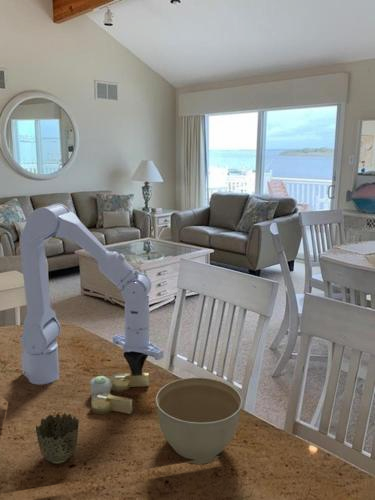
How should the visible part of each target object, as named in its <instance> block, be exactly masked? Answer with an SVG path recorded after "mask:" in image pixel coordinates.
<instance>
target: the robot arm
mask: <svg viewBox="0 0 375 500" xmlns="http://www.w3.org/2000/svg"><path fill="white" fill-rule="evenodd" d="M54 236H55V238H60V239H61V238H62V239H70V240H71V241H73V242H75V244H76V245H78V246H79V247H80V248H82V250H84V251H85V252H86V253H87V254H88V255H89V256H91V257H92V258H93V259H94V260H96V261H97V265H98V271H100V272H101V274H103V275H104V276H105V277H106V278H107V279H108V281H110V282H112V284H113V285H114V286H116V287H117V289H119V290H121V291H120V294H121V297H122V299H123V300H124V335H122V334H115V335H113V336H112V345H114V346H115V345H119V346H122V350H123V351H124V352H123V358H125V360H126V362H127V364H128V367H129V370H130V373H134V374H135V373H143V367H144V365H145V362H146V360H147V358H148V357H152V358H154V360H155V361H159V360H161V359H163V358H164V350H163V349H161V348H159V347H158V346H157V345H155V344H154V343H152V342H151V341H150V305H149V303H150V300H149V299H150V296H149V294H150V291H151V289H152V282H151V279H150V278H149V277H148V275H147V274H146V273H143V272H140V270H138V269H135V268H134V267H133V266H132V265H131V264H130V263H129V262H127V260H126V256H125V255H124V254H123V253H120V254H119V252H117V251H110V250H108V249H107V248H106V247H105V246H104V245H103V243H101V242H100V241H99V239H98V238H96V236H95V235H94V234H93V233H92V232H91V231H90V230H89V228H87V227H86V226H85V225H84V223H83V222H82V221H81V220H80V218H79V217H78V216H77V214H76V213H74V212H72V211H70V209H69V208H68V207H67V206H66V205H64V204H62V203H53V204H51V205H48V206H44V207H43V206H42V207H38V208H36V209H35V210H33V211H32V212H31V213H30V214H29V215H27V216H26V217H25V225H24V226H23V229H22V232H21V234H20V236H19V250H20V257H21V258H20V259H21V268H22V275H23V284H24V293H25V302H26V310H27V312H26V315H25V318H24V320H23V323H22V327H23V329H22V333H21V338H20V344H21V346H22V348H23V350H22V351H21V366H22V375H23V376H25V377H26V378H27V380H28V381H29V382H30V383H31V384H32V385H33V384H34V385H47V384H50V383H54V382H55V381H57V380H58V379H59V378H60V365H59V363H60V362H59V351H58V350H59V349H58V341H57V338H58V337H59V336H60V333H61V324H60V322H59V321H58V319H57V313H56V311H55V310H53V308H52V306H51V297H50V289H49V288H50V287H49V278H48V269H47V259H46V250H45V245H46V243H48V242H49V240H50V239H52V237H54Z"/></svg>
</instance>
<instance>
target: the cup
mask: <svg viewBox="0 0 375 500" xmlns="http://www.w3.org/2000/svg"><path fill="white" fill-rule="evenodd" d="M79 423H80V421H79V418H76V415H74V416H73V417H72V415H71V414H70V413H68V414H67V413H63V414H62V415H60V413H57V414H56V415H55V416H54V415H52V414H48V415H47V416H46V417H45V418H41V420H40V425H35V432H36V437H37V442H38V447H39V450H40V453H41V455H42V456H43V458H44V459H45V460H47V461H48V462H51V463H53V464H62V463H64V462H66V461H68V460H69V458H71V456H73V454H74V453H75V451H76V449H77V444H78V438H79V436H78V435H79Z"/></svg>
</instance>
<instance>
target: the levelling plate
mask: <svg viewBox="0 0 375 500" xmlns="http://www.w3.org/2000/svg"><path fill="white" fill-rule="evenodd" d="M89 382H90V383H89V384H90V396H91V397H90V398H91V399H92V397H93V396H94V395H96V394H99V393H109V394H112V393H111V389H110V377H107V376H104V375H98V376H95V377H94V378H92V379H91V380H90V381H89Z"/></svg>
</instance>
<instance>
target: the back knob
mask: <svg viewBox="0 0 375 500" xmlns="http://www.w3.org/2000/svg"><path fill="white" fill-rule="evenodd" d="M149 375H150V374H149V372H142V373H135V374H134V373H131V372H130V373H115V374H113V375H111V376H110V377H109V379H110V391H112V392H117V393H122V392H126V391H128V390H129V389H131V388H132V387H134V388H135V387H149V385H150V383H149V381H150V380H149V379H150V378H149V377H150V376H149Z"/></svg>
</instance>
